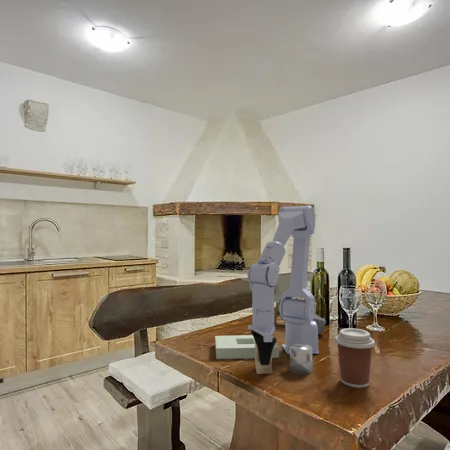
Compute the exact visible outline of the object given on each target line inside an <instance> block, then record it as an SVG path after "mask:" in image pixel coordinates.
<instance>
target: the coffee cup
mask: <svg viewBox="0 0 450 450" xmlns="http://www.w3.org/2000/svg"><path fill="white" fill-rule="evenodd" d="M334 341H335V343H336V344H337V348H338V360H339V361H338V362H339V371H340V381H341V383H342V384H343V385H345V386H348V387H349V388H350V387H352V388H358V389H359V388H360V389H362V388H366V387H368V386H369V385H370V374H371V363H372V349H373V347H375V345H376V341H375V340H374V338H373V337H371V333H370V332H368V330H364V329H360V328H350V327H348V328H341V329H340V330H339V331H338V334H337V335H335V337H334Z"/></svg>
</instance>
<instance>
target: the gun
mask: <svg viewBox="0 0 450 450" xmlns="http://www.w3.org/2000/svg"><path fill="white" fill-rule="evenodd" d="M281 299H282V298H280V299H279V300H278V301H276V302H275V306H274V323H275V322H277V319H278V318H280V319H281V320H282V321H283V322H284V323H285V320H283V317H282V316H281V314H280V311H279V306H280V302H281ZM312 321H315V322H316V324H317V328H318V335H319V334H322V333H323V332H324V331H325V326H326V324H327V321H326V319H325V318H322V317H321V316H319V315H318V314H317V313H315V317H314V319H313V320H312Z"/></svg>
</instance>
